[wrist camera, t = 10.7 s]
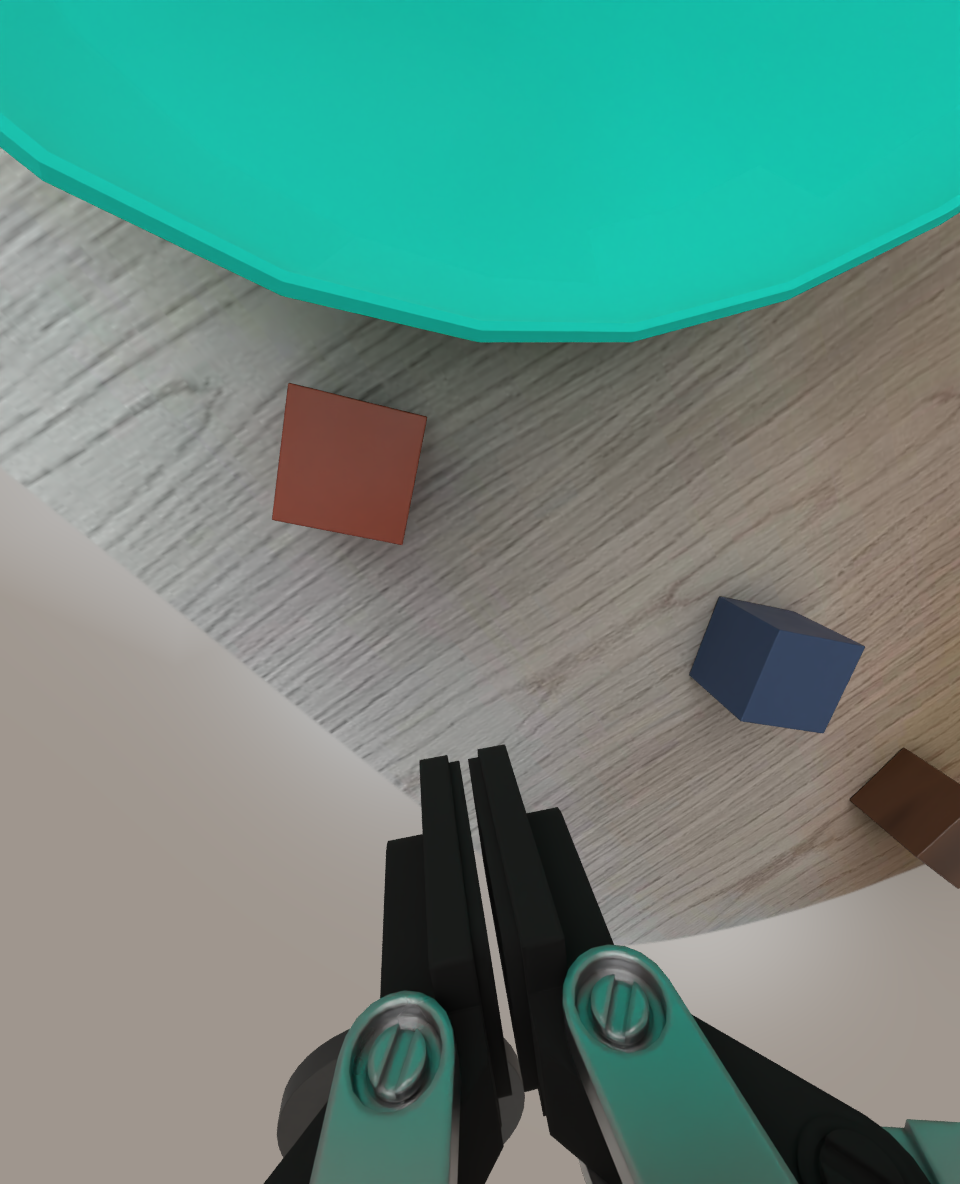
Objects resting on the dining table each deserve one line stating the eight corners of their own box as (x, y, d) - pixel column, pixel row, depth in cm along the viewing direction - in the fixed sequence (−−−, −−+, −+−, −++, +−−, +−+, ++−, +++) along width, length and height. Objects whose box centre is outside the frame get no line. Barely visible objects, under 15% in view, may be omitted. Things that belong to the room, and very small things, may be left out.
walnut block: (941, 780, 36) (1021, 834, 32) (888, 830, 37) (958, 889, 32) (903, 747, 35) (982, 798, 30) (848, 799, 36) (916, 857, 31)
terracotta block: (402, 522, 25) (402, 545, 21) (296, 500, 24) (271, 520, 20) (422, 417, 24) (427, 416, 19) (311, 389, 23) (287, 382, 18)
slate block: (761, 687, 32) (823, 734, 27) (688, 675, 30) (740, 721, 26) (793, 611, 30) (865, 646, 25) (718, 596, 29) (779, 629, 24)
